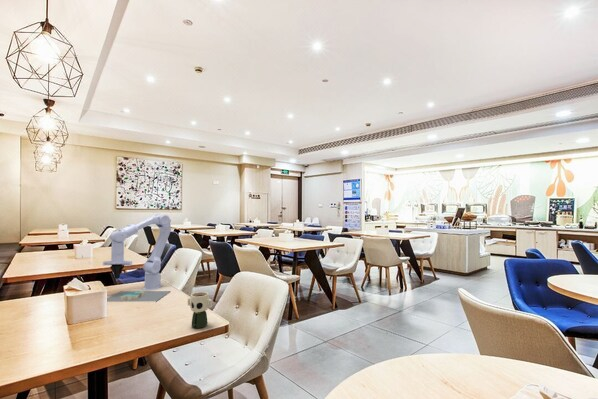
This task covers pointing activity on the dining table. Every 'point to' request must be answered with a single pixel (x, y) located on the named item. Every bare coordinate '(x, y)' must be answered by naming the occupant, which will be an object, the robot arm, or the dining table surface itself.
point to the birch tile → (132, 295)
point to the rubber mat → (146, 297)
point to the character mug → (199, 308)
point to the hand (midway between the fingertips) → (117, 278)
